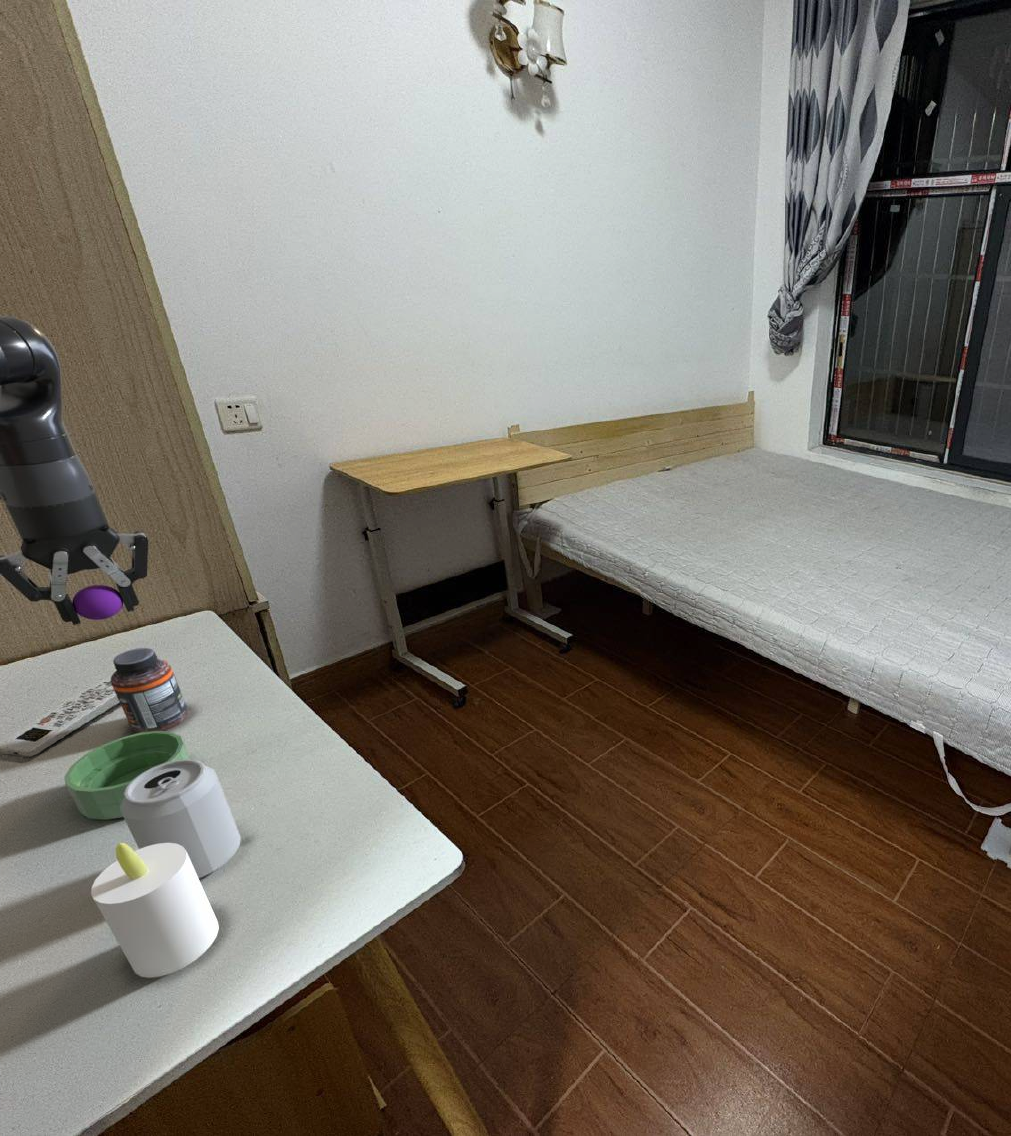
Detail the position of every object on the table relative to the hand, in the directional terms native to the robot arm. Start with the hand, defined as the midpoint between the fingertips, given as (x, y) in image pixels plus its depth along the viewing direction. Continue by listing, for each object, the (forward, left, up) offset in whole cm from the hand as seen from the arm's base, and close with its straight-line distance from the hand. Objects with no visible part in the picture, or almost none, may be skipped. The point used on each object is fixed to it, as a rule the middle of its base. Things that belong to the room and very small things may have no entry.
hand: (103, 615), depth 82 cm
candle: (+27, -37, -16) cm, 49 cm away
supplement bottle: (+4, -3, -16) cm, 17 cm away
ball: (0, 0, +2) cm, 2 cm away
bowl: (+10, -16, -16) cm, 25 cm away
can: (+23, -27, -16) cm, 39 cm away
